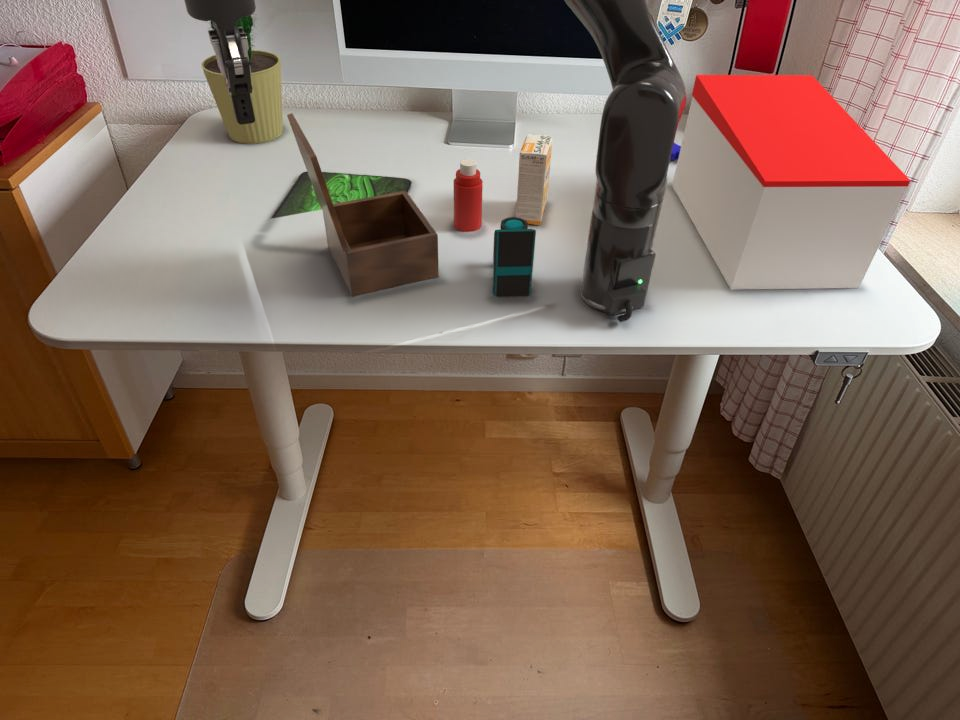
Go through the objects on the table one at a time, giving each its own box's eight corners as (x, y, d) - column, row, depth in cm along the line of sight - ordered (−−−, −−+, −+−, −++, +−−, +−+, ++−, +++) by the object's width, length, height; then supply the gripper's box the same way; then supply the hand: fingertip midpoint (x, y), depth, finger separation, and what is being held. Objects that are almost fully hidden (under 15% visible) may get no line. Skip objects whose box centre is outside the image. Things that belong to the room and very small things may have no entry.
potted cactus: (293, 145, 141) (265, -15, 121) (216, 150, 138) (175, -13, 118) (292, 116, 152) (267, -34, 132) (221, 121, 149) (184, -32, 129)
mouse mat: (382, 258, 109) (381, 253, 109) (251, 247, 111) (250, 242, 110) (413, 182, 130) (413, 177, 129) (303, 174, 131) (302, 169, 130)
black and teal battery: (527, 196, 101) (536, 231, 93) (522, 263, 109) (530, 300, 101) (490, 196, 100) (496, 231, 93) (488, 264, 108) (493, 301, 101)
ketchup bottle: (485, 233, 116) (487, 166, 107) (460, 238, 114) (460, 171, 106) (475, 220, 119) (476, 154, 111) (449, 225, 117) (449, 158, 109)
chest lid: (292, 112, 94) (286, 114, 94) (316, 155, 84) (310, 157, 84) (323, 202, 104) (318, 203, 104) (348, 249, 94) (343, 251, 94)
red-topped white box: (774, 184, 131) (811, 74, 118) (858, 288, 105) (919, 163, 92) (670, 184, 130) (695, 74, 117) (729, 289, 104) (771, 163, 90)
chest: (408, 235, 114) (405, 190, 109) (439, 281, 104) (437, 234, 99) (328, 251, 110) (321, 205, 105) (352, 301, 100) (346, 253, 95)
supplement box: (541, 226, 118) (548, 155, 109) (514, 223, 118) (518, 152, 110) (547, 204, 124) (554, 135, 115) (521, 201, 124) (526, 132, 116)
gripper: (171, -44, 77) (209, 107, 89) (182, -17, 68) (222, 147, 80) (238, -48, 79) (266, 99, 91) (257, -22, 70) (286, 137, 82)
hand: (246, 121), depth 85 cm, fingers closed
